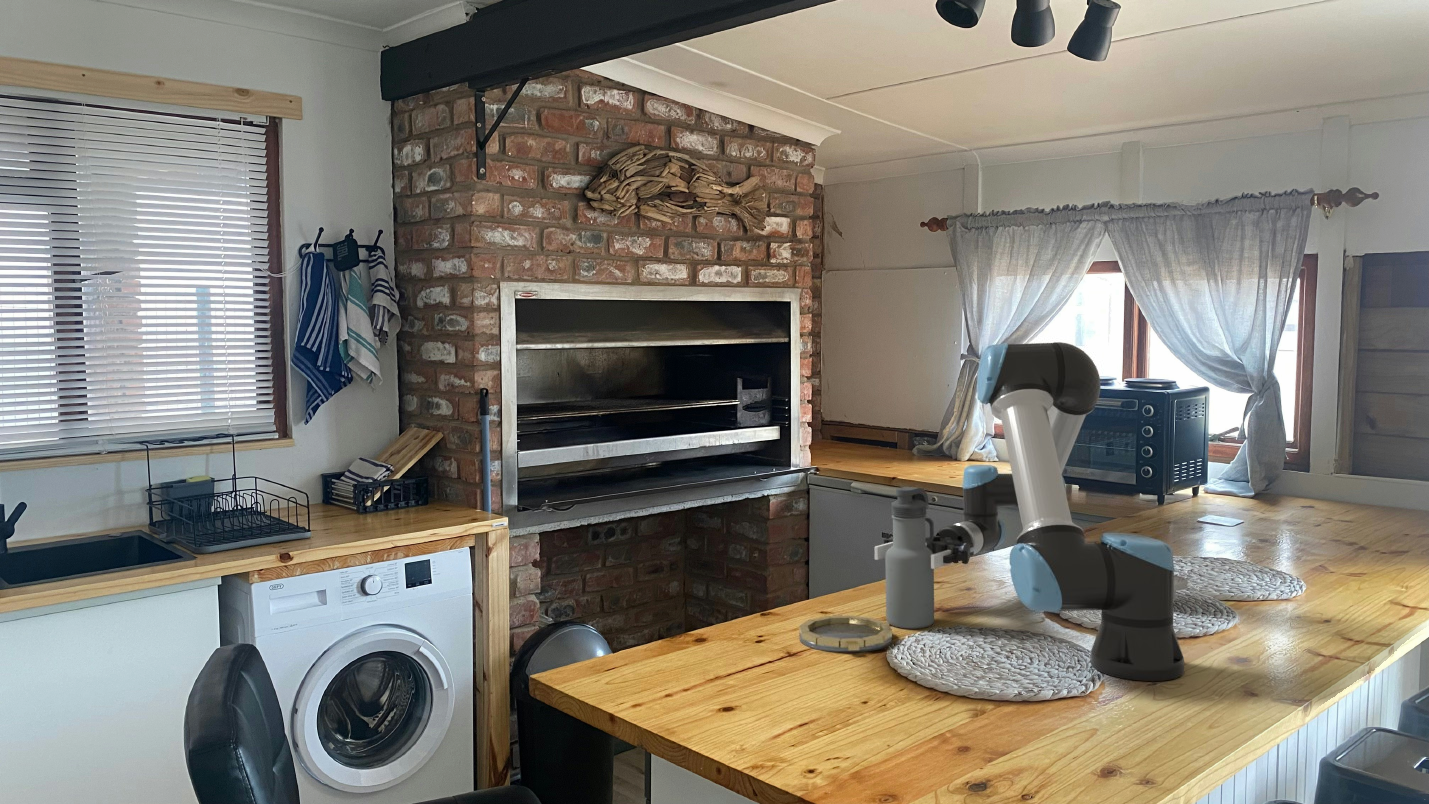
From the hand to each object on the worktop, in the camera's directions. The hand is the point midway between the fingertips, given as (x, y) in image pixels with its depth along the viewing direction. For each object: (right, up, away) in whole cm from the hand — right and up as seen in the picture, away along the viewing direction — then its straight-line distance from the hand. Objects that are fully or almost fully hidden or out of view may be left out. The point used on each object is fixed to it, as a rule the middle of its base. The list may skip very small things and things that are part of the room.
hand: (903, 557), depth 207 cm
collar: (-13, -15, -8) cm, 21 cm away
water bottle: (+2, -14, +2) cm, 14 cm away
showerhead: (+57, -12, +9) cm, 59 cm away
